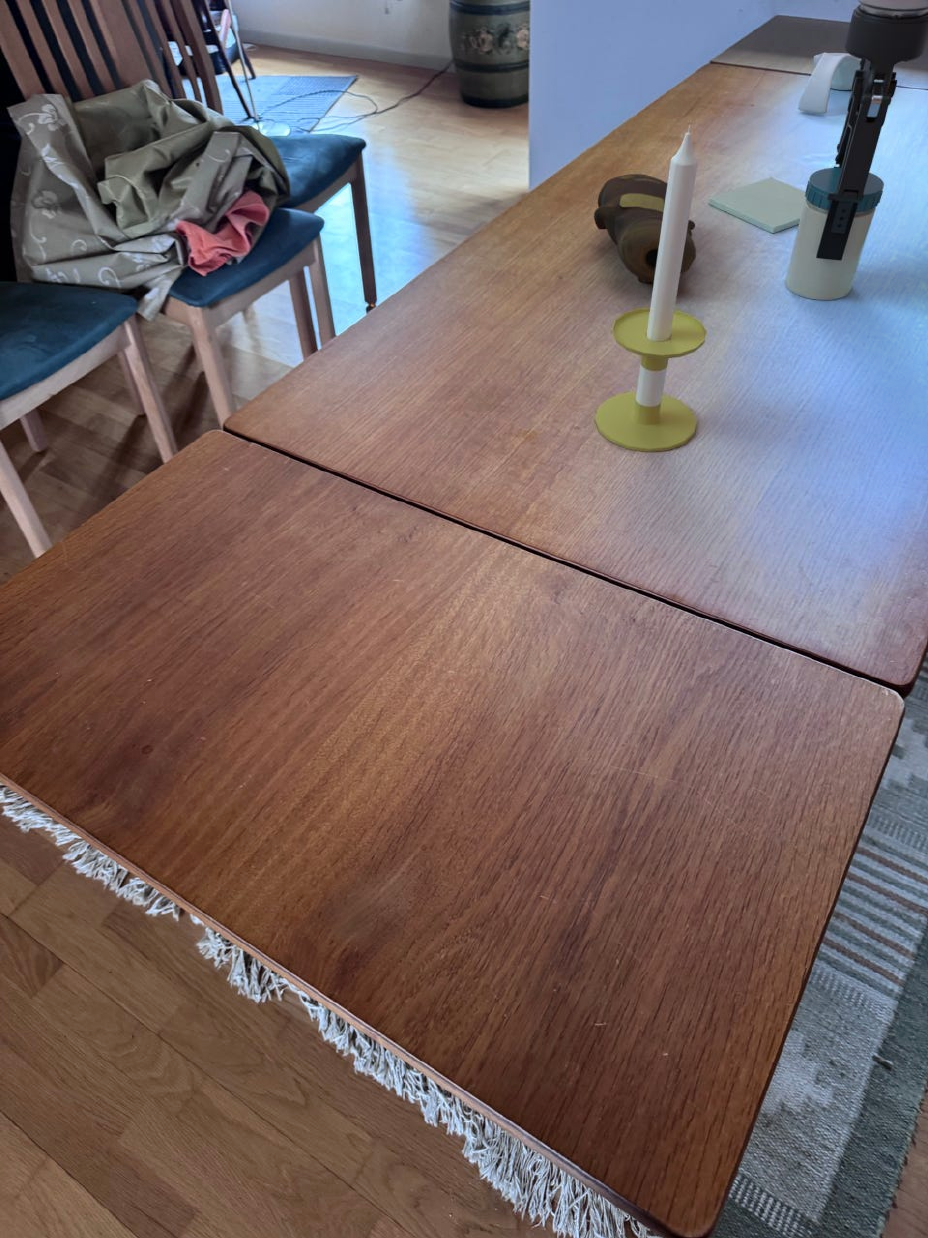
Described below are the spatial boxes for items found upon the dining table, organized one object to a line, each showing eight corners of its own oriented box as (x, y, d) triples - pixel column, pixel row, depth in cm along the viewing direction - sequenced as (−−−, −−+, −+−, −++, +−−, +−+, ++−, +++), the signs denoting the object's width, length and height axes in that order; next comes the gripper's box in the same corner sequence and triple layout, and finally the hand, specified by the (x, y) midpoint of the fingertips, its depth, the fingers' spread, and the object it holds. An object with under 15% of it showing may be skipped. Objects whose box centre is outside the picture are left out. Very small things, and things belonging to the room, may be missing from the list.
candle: (573, 419, 87) (596, 124, 68) (641, 382, 92) (682, 94, 72) (649, 465, 82) (698, 159, 62) (718, 423, 86) (784, 125, 67)
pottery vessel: (597, 302, 103) (603, 238, 98) (588, 228, 117) (593, 168, 112) (704, 302, 103) (716, 238, 97) (683, 227, 117) (692, 167, 111)
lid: (829, 178, 101) (833, 161, 100) (892, 198, 97) (898, 180, 96) (790, 199, 98) (795, 181, 97) (854, 219, 94) (860, 201, 92)
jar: (863, 295, 103) (894, 197, 95) (803, 304, 102) (830, 206, 94) (830, 266, 108) (857, 171, 100) (773, 274, 107) (796, 179, 99)
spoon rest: (819, 70, 160) (830, 24, 154) (885, 79, 155) (899, 32, 150) (777, 109, 146) (787, 60, 141) (848, 120, 142) (861, 70, 137)
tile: (835, 210, 119) (837, 204, 118) (772, 233, 115) (774, 227, 114) (769, 182, 126) (770, 176, 125) (707, 203, 122) (709, 197, 121)
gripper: (944, 38, 77) (864, 286, 94) (931, -18, 90) (863, 208, 107) (854, 33, 79) (791, 278, 95) (854, -21, 92) (799, 202, 109)
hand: (829, 241), depth 101 cm, fingers closed on lid, 8 cm apart
